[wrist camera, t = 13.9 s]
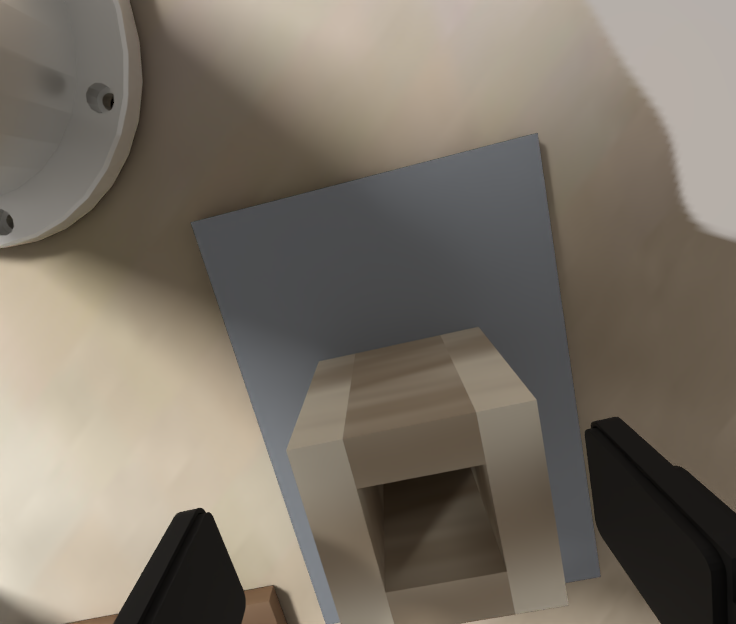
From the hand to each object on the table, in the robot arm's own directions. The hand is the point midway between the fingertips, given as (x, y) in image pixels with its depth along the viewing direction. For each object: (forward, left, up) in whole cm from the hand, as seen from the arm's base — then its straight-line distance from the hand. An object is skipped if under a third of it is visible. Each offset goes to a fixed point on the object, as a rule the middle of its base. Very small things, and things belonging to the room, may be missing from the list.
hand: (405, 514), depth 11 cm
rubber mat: (+1, +1, -7) cm, 7 cm away
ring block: (+1, +1, -6) cm, 6 cm away
